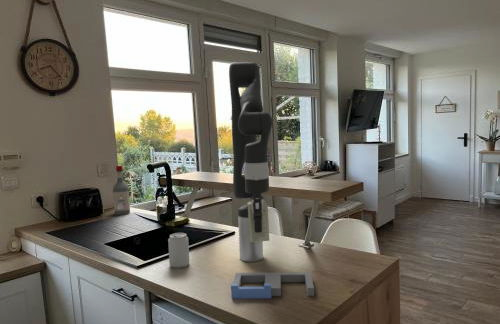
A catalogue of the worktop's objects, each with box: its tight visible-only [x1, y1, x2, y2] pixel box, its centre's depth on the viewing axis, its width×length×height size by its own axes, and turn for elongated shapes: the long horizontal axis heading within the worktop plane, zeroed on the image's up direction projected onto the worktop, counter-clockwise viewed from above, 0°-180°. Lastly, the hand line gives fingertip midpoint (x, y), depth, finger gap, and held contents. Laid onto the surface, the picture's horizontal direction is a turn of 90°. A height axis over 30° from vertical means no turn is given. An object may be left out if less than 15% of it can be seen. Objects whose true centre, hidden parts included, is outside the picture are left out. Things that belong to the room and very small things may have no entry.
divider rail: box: [230, 271, 315, 300], centre depth 118 cm, size 14×25×4 cm, turn 86°
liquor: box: [112, 165, 131, 216], centre depth 232 cm, size 9×9×30 cm
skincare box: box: [247, 200, 270, 242], centre depth 118 cm, size 6×4×12 cm
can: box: [167, 232, 190, 269], centre depth 141 cm, size 8×8×12 cm
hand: (258, 229), depth 118 cm, fingers closed on skincare box, 4 cm apart
